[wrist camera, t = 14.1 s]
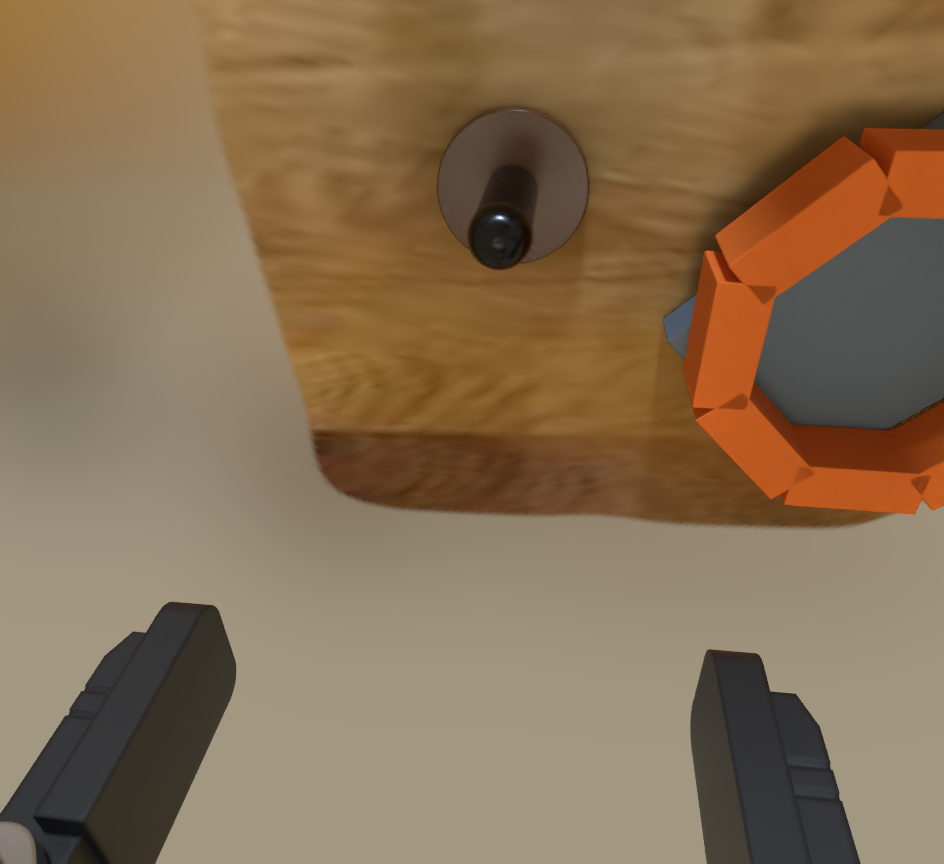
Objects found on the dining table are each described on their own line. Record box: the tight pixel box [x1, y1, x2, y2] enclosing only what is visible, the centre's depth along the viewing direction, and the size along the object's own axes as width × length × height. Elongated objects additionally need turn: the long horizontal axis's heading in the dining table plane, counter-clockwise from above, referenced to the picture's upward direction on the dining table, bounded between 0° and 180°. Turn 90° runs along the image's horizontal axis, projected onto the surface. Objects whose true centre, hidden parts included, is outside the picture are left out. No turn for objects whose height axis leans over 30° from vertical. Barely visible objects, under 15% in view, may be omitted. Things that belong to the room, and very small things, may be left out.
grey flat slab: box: [663, 112, 944, 430], centre depth 34 cm, size 15×11×2 cm
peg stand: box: [437, 106, 589, 270], centre depth 30 cm, size 7×7×8 cm
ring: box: [683, 128, 944, 514], centre depth 31 cm, size 16×16×4 cm
